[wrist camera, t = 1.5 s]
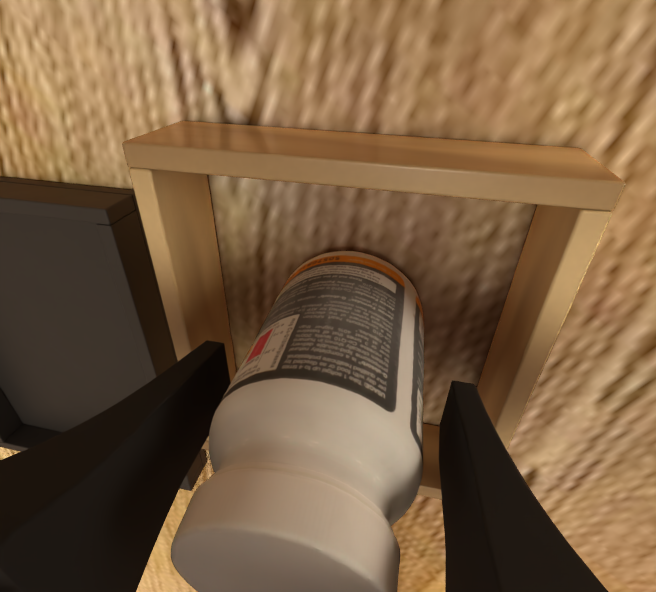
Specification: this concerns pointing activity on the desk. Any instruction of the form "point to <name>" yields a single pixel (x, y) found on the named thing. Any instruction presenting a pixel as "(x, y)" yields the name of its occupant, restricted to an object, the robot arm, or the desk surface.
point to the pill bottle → (315, 440)
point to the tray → (75, 309)
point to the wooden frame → (388, 175)
